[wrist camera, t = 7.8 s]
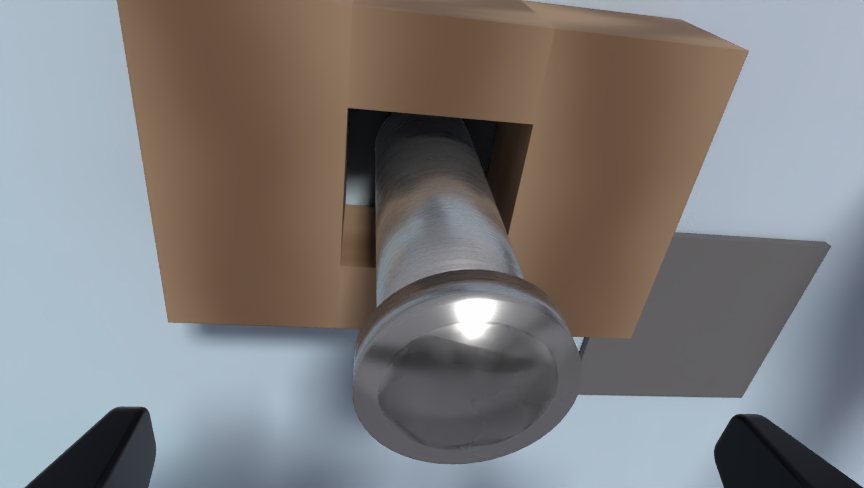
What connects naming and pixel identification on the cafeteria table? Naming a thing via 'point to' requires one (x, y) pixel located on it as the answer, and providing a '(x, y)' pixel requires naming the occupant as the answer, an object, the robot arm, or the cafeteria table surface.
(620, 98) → the socket block
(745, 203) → the cafeteria table surface
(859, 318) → the cafeteria table surface
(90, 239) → the cafeteria table surface
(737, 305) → the mat
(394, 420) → the pin
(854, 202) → the cafeteria table surface
